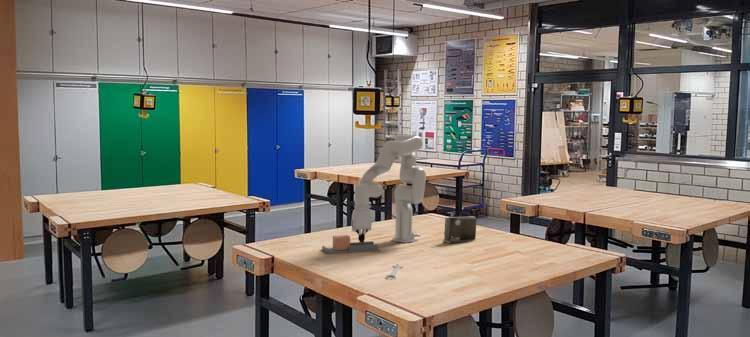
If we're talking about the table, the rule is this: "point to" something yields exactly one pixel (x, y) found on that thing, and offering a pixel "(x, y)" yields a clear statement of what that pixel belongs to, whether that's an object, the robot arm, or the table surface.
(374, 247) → the chute
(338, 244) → the block
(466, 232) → the radio
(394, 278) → the wrench
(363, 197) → the robot arm
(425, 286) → the table surface
